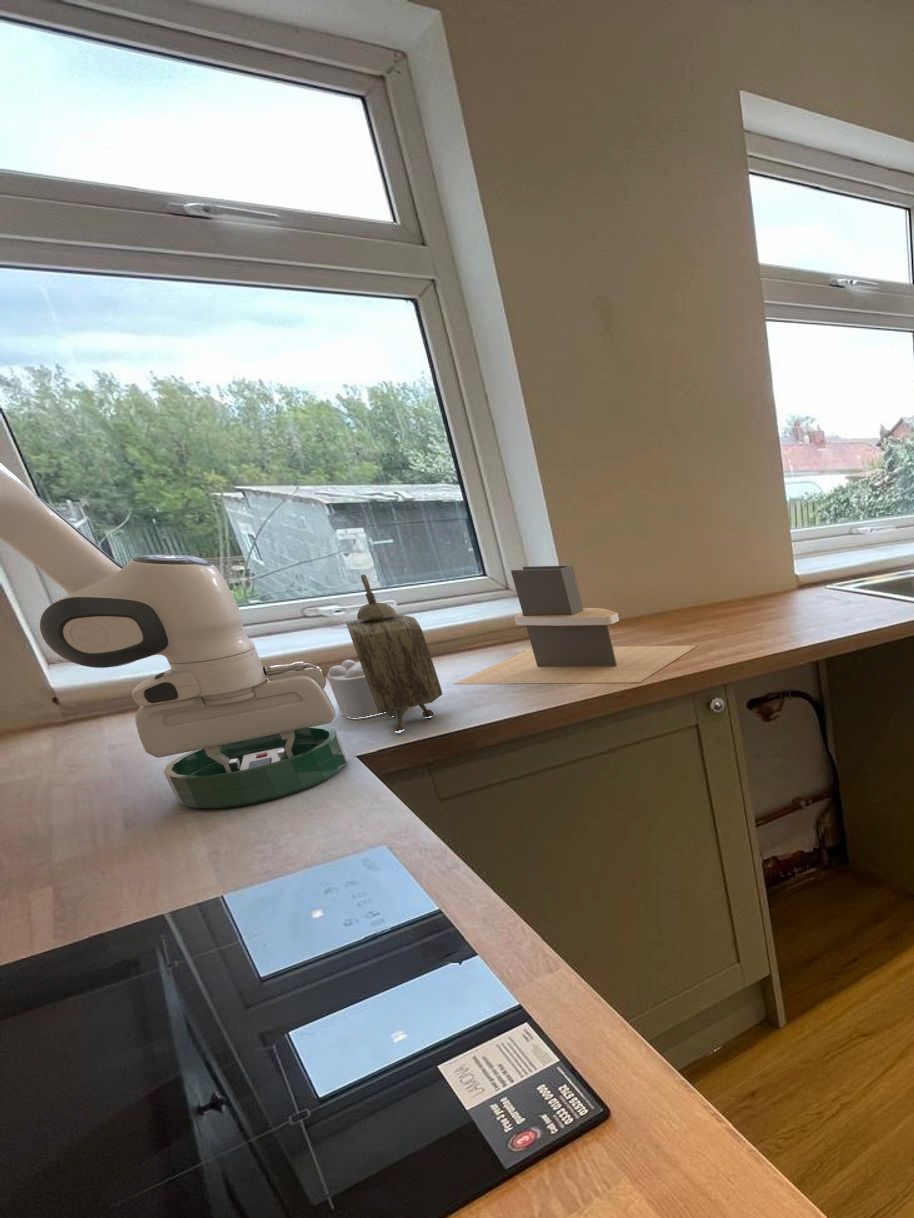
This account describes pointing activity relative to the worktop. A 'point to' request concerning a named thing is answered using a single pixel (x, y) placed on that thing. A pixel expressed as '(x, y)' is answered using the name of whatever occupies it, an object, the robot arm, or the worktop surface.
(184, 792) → the bowl
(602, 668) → the architectural model
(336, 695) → the lumpy-topped squat cylinder
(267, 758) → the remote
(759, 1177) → the worktop surface
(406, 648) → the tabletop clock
